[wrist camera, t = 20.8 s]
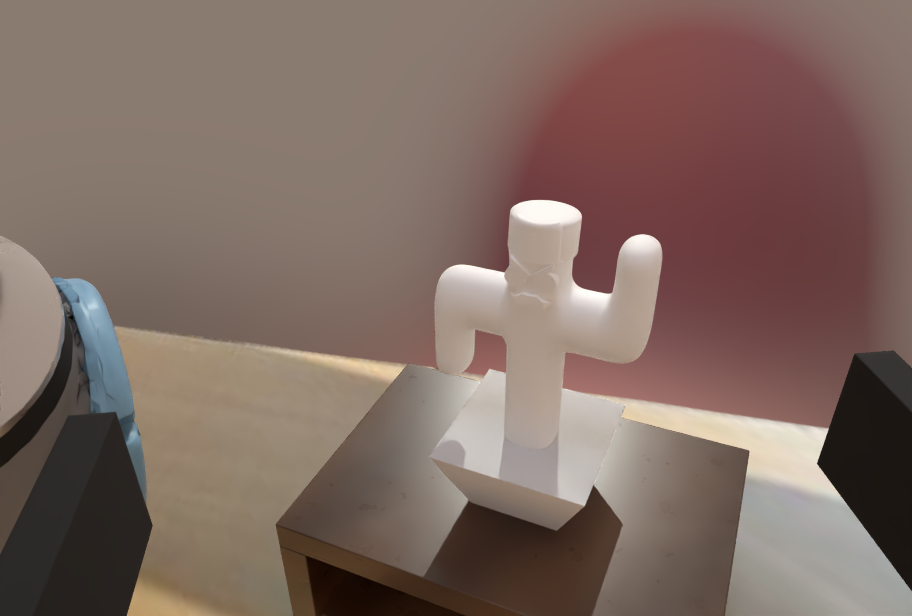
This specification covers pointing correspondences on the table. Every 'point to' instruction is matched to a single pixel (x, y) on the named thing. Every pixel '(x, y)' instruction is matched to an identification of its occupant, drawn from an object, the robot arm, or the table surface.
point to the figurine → (538, 365)
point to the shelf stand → (508, 525)
